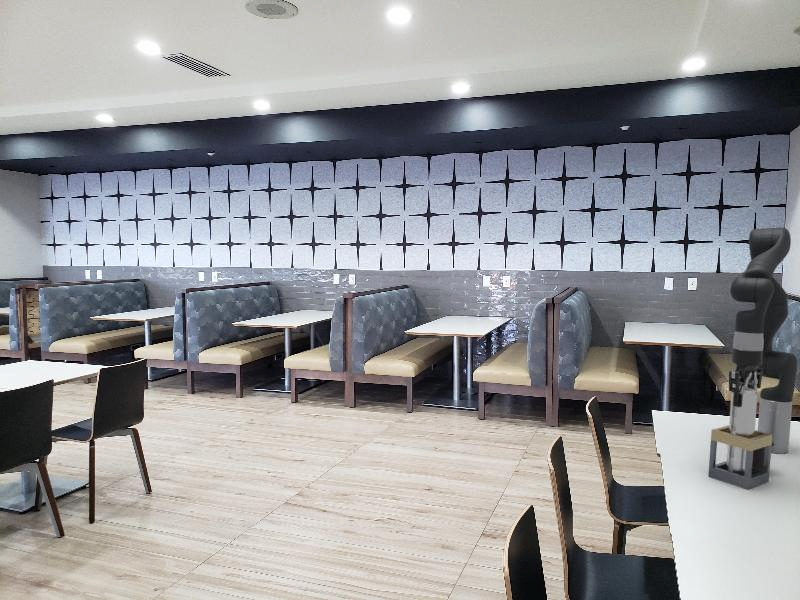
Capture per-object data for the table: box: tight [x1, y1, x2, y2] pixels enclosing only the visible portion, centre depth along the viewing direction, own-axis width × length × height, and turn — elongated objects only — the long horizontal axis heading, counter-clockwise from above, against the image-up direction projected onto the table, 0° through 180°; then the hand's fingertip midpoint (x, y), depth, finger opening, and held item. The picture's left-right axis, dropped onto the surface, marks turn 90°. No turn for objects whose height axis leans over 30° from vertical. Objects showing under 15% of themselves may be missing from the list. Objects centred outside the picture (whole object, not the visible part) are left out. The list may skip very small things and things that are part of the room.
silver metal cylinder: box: [726, 387, 758, 476], centre depth 177 cm, size 6×6×25 cm
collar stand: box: [708, 425, 772, 490], centre depth 178 cm, size 11×11×14 cm
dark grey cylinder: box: [752, 442, 774, 470], centre depth 186 cm, size 8×8×10 cm
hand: (743, 404), depth 176 cm, fingers closed on silver metal cylinder, 6 cm apart
